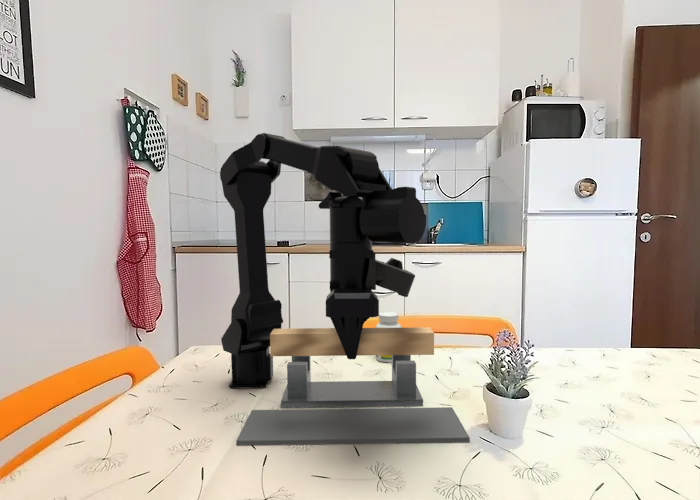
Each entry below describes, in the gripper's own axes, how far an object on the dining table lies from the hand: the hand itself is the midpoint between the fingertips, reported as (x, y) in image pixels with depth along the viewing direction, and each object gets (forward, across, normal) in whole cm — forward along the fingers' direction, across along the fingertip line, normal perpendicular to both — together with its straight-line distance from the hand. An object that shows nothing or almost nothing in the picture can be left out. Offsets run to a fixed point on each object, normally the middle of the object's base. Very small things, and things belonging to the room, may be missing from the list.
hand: (351, 355), depth 58 cm
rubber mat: (+10, 0, 0) cm, 10 cm away
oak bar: (0, 0, 0) cm, 0 cm away
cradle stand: (+10, +10, 0) cm, 15 cm away
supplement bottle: (+10, +29, -8) cm, 32 cm away
